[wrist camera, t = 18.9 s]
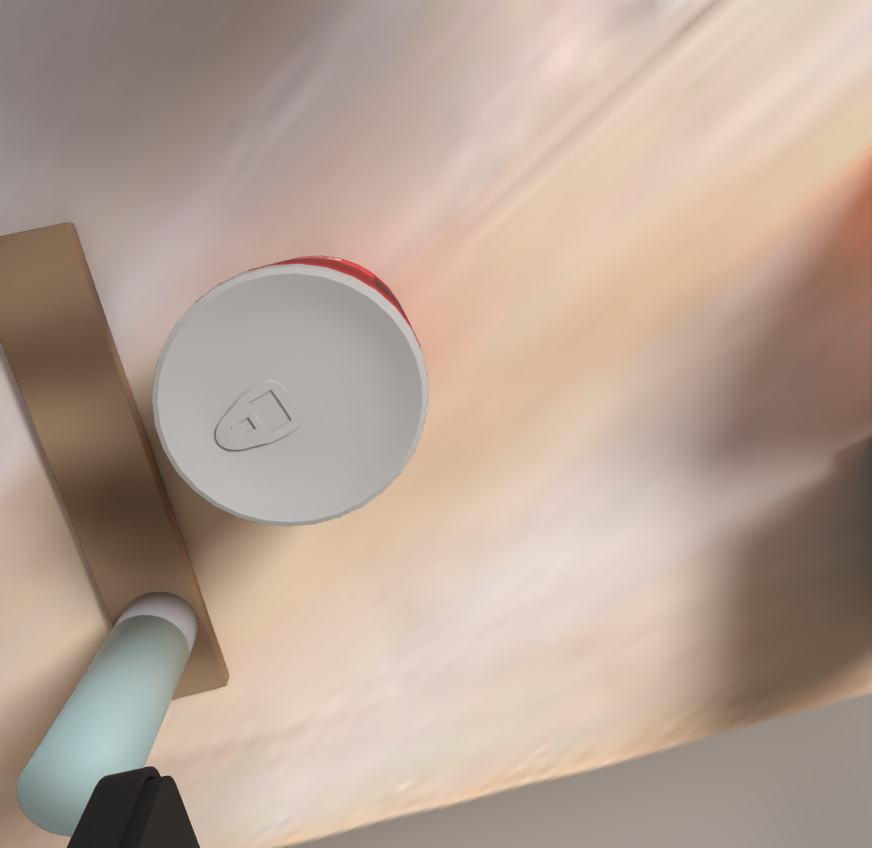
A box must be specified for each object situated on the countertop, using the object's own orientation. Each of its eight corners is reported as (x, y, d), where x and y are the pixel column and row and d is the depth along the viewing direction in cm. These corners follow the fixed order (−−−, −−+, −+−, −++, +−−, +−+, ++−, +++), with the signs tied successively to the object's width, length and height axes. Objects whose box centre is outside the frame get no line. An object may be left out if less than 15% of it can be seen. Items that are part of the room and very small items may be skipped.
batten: (-27, 244, 27) (-38, 244, 27) (73, 223, 28) (64, 222, 27) (149, 694, 34) (144, 705, 33) (229, 675, 34) (226, 685, 33)
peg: (110, 601, 31) (0, 763, 22) (186, 583, 31) (109, 737, 22) (135, 665, 32) (40, 847, 23) (208, 647, 32) (144, 821, 23)
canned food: (190, 351, 30) (90, 414, 19) (314, 213, 29) (282, 198, 18) (323, 465, 31) (300, 579, 21) (444, 339, 30) (484, 393, 20)
